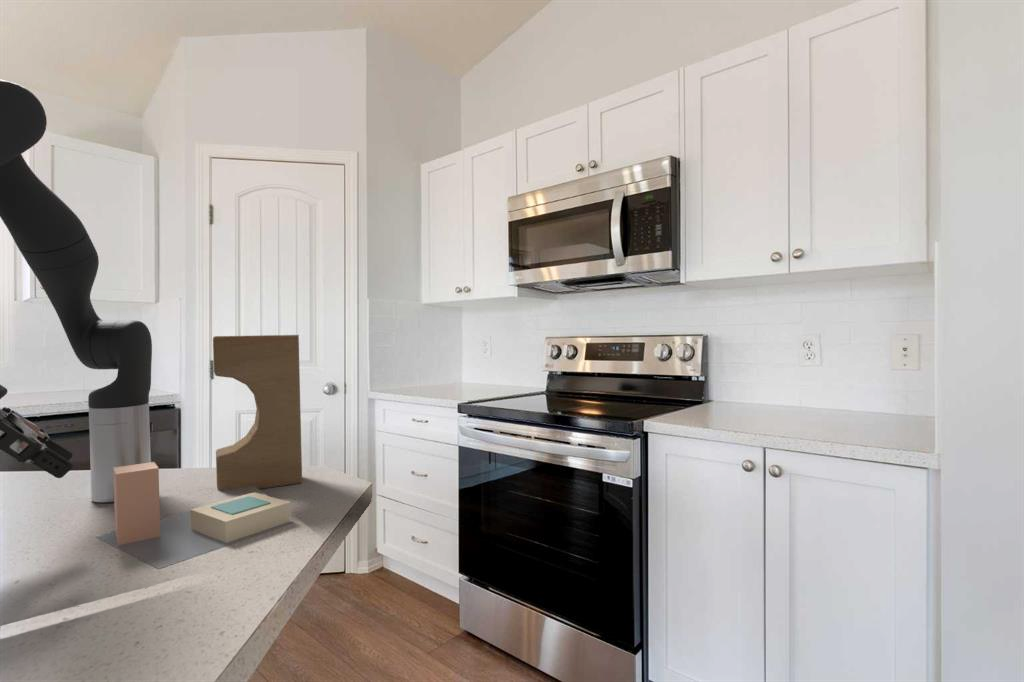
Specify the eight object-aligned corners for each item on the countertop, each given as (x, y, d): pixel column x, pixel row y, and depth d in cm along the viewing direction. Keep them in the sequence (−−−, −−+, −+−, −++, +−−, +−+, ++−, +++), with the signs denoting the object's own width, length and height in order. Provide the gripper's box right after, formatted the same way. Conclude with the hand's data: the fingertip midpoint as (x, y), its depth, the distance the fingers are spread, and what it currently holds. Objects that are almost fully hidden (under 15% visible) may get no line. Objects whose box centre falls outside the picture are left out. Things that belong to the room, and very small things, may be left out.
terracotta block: (118, 545, 75) (115, 474, 75) (115, 535, 79) (113, 467, 79) (160, 536, 78) (158, 467, 78) (155, 526, 82) (154, 461, 82)
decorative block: (217, 495, 101) (213, 336, 100) (216, 486, 107) (212, 336, 107) (302, 483, 108) (299, 334, 108) (296, 475, 115) (293, 334, 114)
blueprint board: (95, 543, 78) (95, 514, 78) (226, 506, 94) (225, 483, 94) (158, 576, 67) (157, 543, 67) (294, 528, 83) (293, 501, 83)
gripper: (-36, 369, 62) (93, 452, 70) (-20, 364, 73) (89, 436, 80) (-103, 420, 59) (40, 501, 66) (-76, 407, 70) (44, 478, 77)
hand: (67, 466), depth 73 cm, fingers open, 8 cm apart
